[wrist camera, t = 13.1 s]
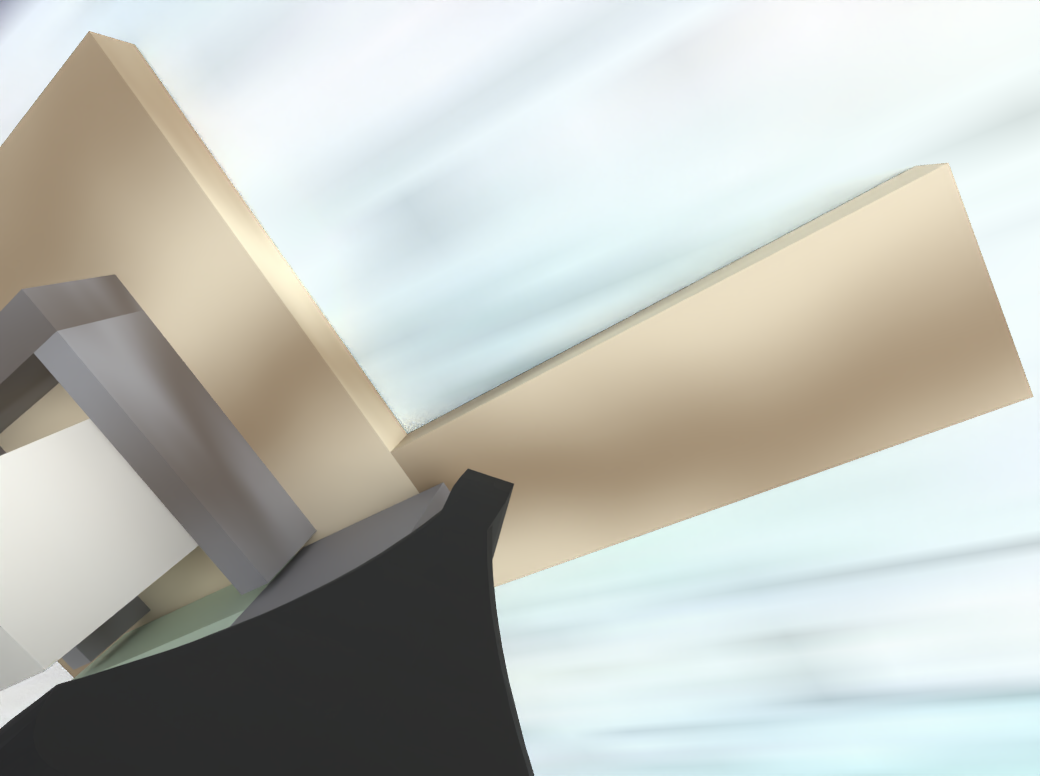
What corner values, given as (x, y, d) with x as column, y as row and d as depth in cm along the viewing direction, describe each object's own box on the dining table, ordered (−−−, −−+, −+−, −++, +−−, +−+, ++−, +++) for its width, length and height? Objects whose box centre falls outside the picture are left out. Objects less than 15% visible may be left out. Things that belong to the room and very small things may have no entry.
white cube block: (63, 454, 15) (-196, 574, 10) (140, 397, 13) (-121, 505, 9) (154, 558, 15) (-45, 711, 11) (236, 515, 14) (45, 670, 9)
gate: (123, 631, 17) (-18, 753, 13) (443, 482, 12) (360, 610, 8) (147, 656, 17) (15, 782, 13) (470, 520, 12) (401, 661, 8)
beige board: (-154, 394, 17) (-304, 432, 14) (638, -565, 7) (644, -1110, 4) (139, 696, 20) (63, 775, 18) (995, 377, 10) (1138, 449, 7)
